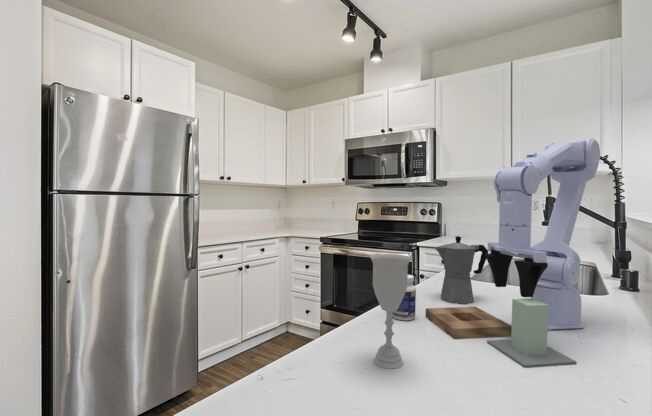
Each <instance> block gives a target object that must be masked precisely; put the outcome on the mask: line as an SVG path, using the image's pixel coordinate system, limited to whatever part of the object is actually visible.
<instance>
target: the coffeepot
mask: <svg viewBox="0 0 652 416" xmlns="http://www.w3.org/2000/svg"><path fill="white" fill-rule="evenodd" d="M461 241H462V237H461V236H458V235H457V236H455V242H452V243H446V244H441V245H440V246H436V247H435V248H434V250H436V251H437V253H438V254H439V256H440V257H441V260H442V262H443V268H444V278H443V281H442V288H441V294H440V299H441V300H442V301H444V302H446V301H447V303H450V302H451V303H450V304H455V303H457V304H456V305H470V304H473V303H475V301H474V295H473V294H474V293H473V286H472V280H471V273H472V270H473V263H474V258H475V253H477V252H481V255H480V259H479V261H478V265H477V269H475V270H473V274H481V273H482V272H483V270H484V266H485V263H486V261H487V259H486V258H485V254H489V251H488V248H486V246H485V245H483V244H471V245H469V244H465V243H462V242H461ZM472 302H473V303H472ZM469 303H470V304H469Z"/></svg>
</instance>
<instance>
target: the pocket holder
mask: <svg viewBox="0 0 652 416" xmlns="http://www.w3.org/2000/svg"><path fill="white" fill-rule="evenodd" d="M425 317H426V318H427V320H429V321H430V322H431V323H433V324H434V325H436V326H437V327H438V328H440V329H441V330H442V331H443V332H445V333H446V334H448V335H449V336H450V337H451V338H452V339H455V340H456V339H458V340H459V339H474V338H475V339H476V338H490V337H491V338H493V337H494V338H496V337H511V331H512V324H509V323H508V322H505V321H504V320H502V319H500V318H498V317H496V316H494V315H492V314H491V313H489V312H486V311H484V310H483V309H481V308H480V307H477V306H458V307H457V306H456V307H455V306H454V307H433V308H432V307H429V308H427V307H426V308H425Z"/></svg>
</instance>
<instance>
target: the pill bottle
mask: <svg viewBox="0 0 652 416" xmlns="http://www.w3.org/2000/svg"><path fill="white" fill-rule="evenodd" d="M414 282H415V276H414V275H412V274H408V282H407V289H406V292H405V295H404V298H403V299H402V301H401V303H400V305H399V307H398V309H397V310H396V311H394V312H393V313H392V319H395V320H398V321H413V320H414V319H415V318H416V305H417V304H416V302H417V301H416V300H417V298H416V297H417V295H416V293H417V287H416V286H415V284H413V283H414Z"/></svg>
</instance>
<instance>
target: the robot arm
mask: <svg viewBox="0 0 652 416" xmlns="http://www.w3.org/2000/svg"><path fill="white" fill-rule="evenodd" d="M600 160H601V149H600V144H599V142H598V141H597V140H596V139H595V138H593V137H592V138H587V139H581V140H573V141H564V142H556V143H554V142H551V143H549V144H547V145H545V147H544V151H543V152H542V153H537V152H531V153H530V152H529V153H527V154H526V157H525V158H524V159H522V160H517V161H516V162H515V164H514V165H512V166H511V167H502V168H501V169H500V170H498V171H497V172H496V174H495V177H494V180H493V186H494V187H493V188H494V190H495V192H496V201H497V203H498V204H499V213H498V214H499V215H498V216H499V219H498V242H495V241H494V242H487V250H488V252H490V253H488V254H485V258H486V261H487V263H488V265H489V267H490V271H491V274H492V276H493V278H492V279H493V282H494V286H495V287H496V288H506V287H507V284H508V280H509V279H508V278H509V270H510V265H511V262H512V260H513V257H516V258H520V260H517V259H516V260H515V259H514V262H513V263H514V264H515V267H516V271H517V274H518V280H519V293H520V297H522V298H531V299H534V300H537V301H539V302H542V303H544V304H547V305H548V327H547V331H549V330H551V331H552V330H569V329H584V328H585V325H583V324H582V323H581V322H582V320H581V319H582V318H581V317H582V296H581V293H580V291H579V290H578V288H576V287H575V285H576V284H577V283H578V281H579V279H580V273H581V271H580V265H581V258H580V255H579V254H578V252H577V251H575V250H574V249H573V248H572V247H570V243H571V239H572V236H573V232H574V229H575V226H576V222H577V218H578V214H579V210H580V207H581V203H582V200H583V196H584V193H585V189H586V185H587V182H588V181H590V180H592V179H594V178H595V176H596V173H597V172H598V167H599V164H600ZM549 176H550V177H551V180H553V181H556V182H557V183H559V184H560V185H559V188H558V191H557V195H556V198H555V201H554V205H553V208H552V212H551V215H550V218H549V221H548V225H547V228H546V230H545V236H544V239H543V240H542V241H540V242H538V243H535V244H534V245H532V246H531V241H532V239H531V238H532V210H533V209H532V207H533V206H532V203H533V195H534V194H536V193H537V191H538V190H539V186H540V184H541V182H542V181H543V180H545V178H547V177H549ZM521 259H523V260H521Z"/></svg>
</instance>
